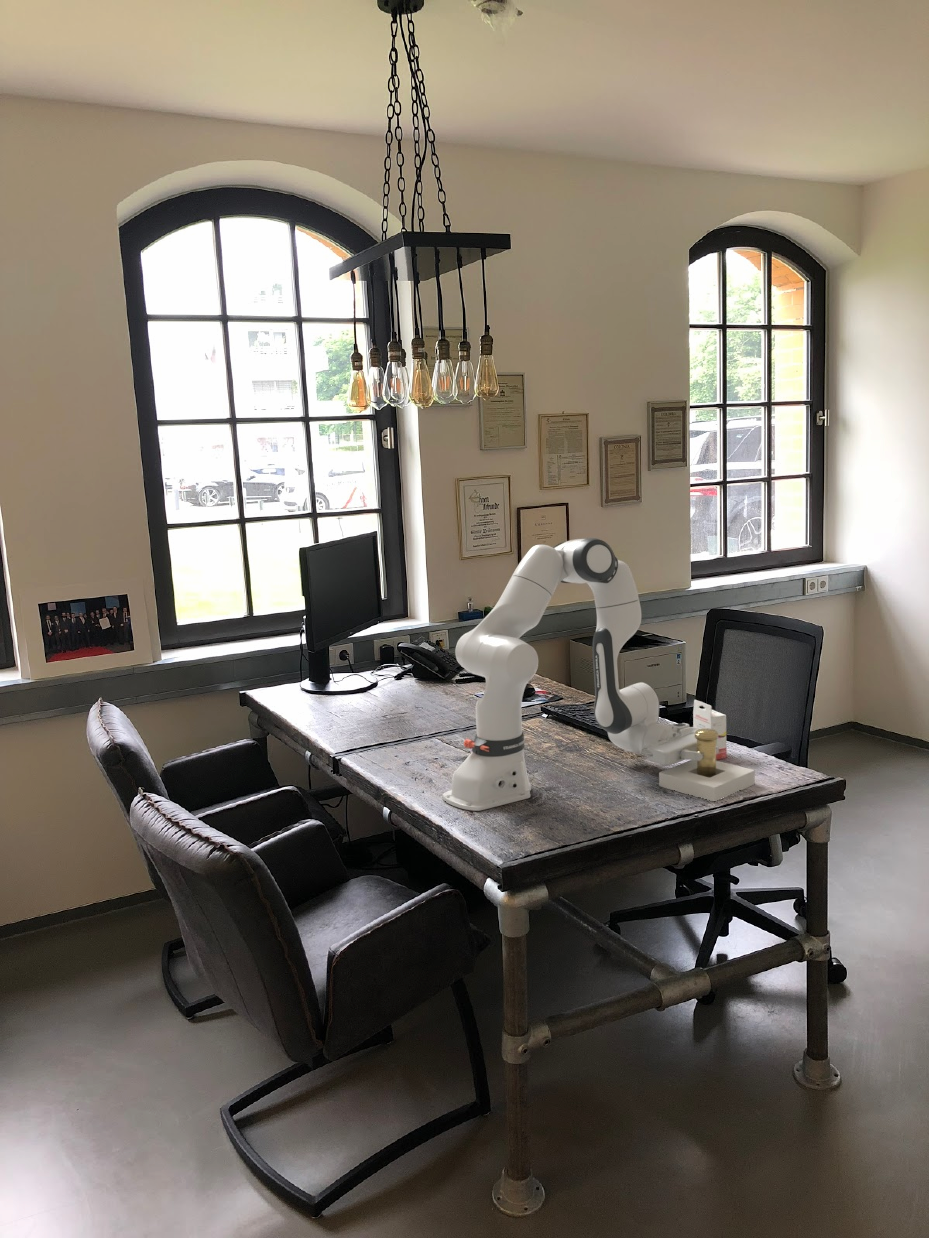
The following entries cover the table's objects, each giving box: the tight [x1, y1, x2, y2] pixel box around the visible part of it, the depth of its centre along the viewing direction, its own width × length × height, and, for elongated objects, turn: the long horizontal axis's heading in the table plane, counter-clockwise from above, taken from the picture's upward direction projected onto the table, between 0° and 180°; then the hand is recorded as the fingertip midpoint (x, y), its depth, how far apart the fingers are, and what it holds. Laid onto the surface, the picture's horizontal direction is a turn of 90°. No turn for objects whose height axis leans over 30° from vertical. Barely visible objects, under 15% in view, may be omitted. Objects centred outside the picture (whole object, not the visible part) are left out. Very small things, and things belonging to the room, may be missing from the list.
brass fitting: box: [695, 728, 718, 778], centre depth 236 cm, size 5×5×12 cm
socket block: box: [658, 760, 756, 802], centre depth 237 cm, size 16×16×4 cm
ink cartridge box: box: [692, 699, 728, 761], centre depth 257 cm, size 9×5×15 cm, turn 21°
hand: (709, 753), depth 235 cm, fingers closed on brass fitting, 4 cm apart
